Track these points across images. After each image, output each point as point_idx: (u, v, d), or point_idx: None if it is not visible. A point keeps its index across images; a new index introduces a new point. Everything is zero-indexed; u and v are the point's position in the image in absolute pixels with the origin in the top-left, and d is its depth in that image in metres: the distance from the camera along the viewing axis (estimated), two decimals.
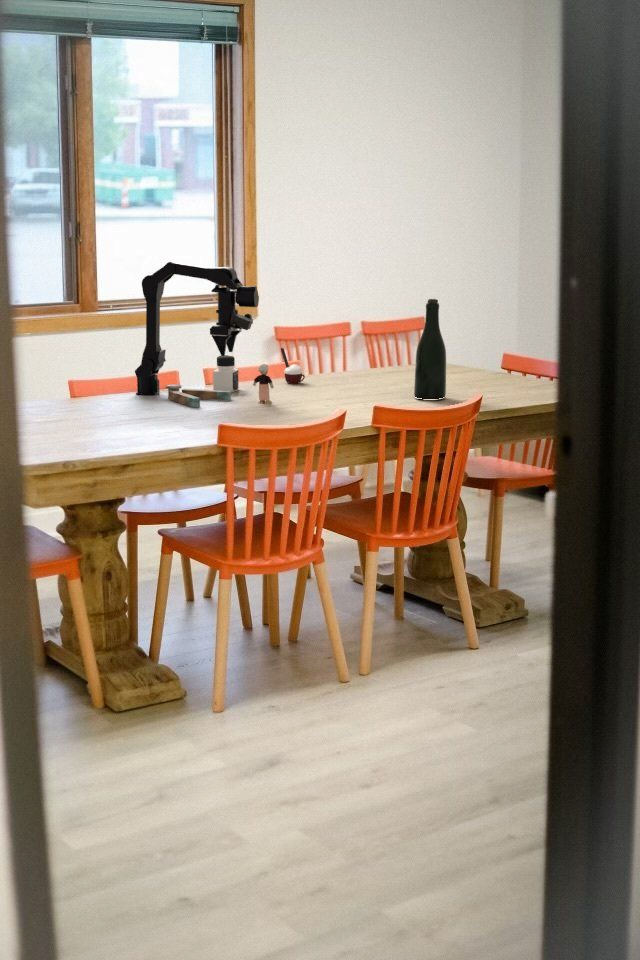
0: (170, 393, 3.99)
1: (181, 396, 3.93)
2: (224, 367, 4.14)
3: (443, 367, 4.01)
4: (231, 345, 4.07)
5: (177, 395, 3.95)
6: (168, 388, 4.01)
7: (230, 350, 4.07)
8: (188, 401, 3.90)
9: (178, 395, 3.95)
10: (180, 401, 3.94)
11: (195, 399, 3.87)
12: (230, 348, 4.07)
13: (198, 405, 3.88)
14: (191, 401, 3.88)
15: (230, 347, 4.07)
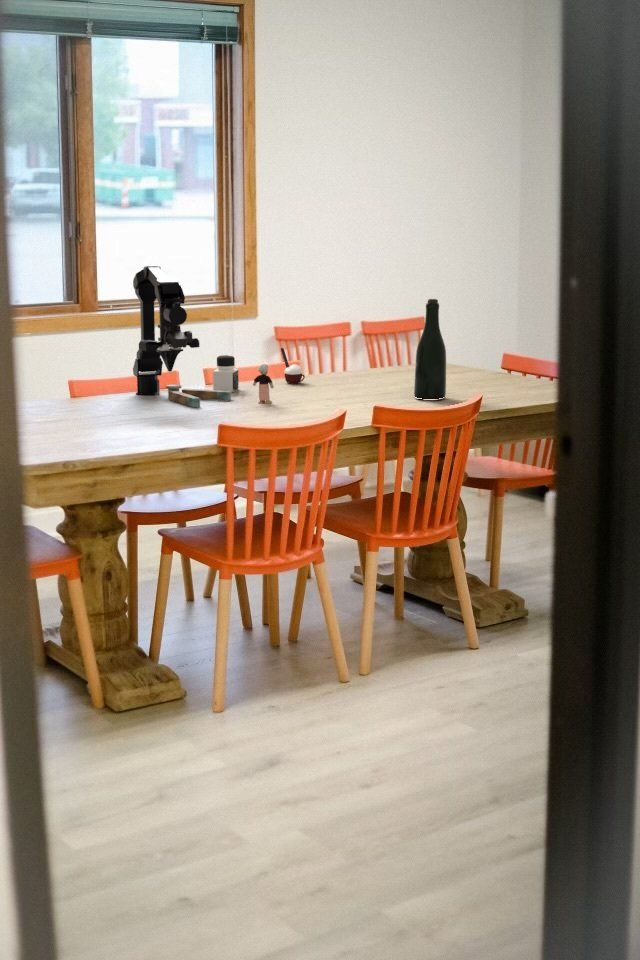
0: (170, 393, 3.99)
1: (181, 396, 3.93)
2: (224, 367, 4.14)
3: (443, 367, 4.01)
4: None
5: (177, 395, 3.95)
6: (168, 388, 4.01)
7: None
8: (188, 401, 3.90)
9: (178, 395, 3.95)
10: (180, 401, 3.94)
11: (195, 399, 3.87)
12: None
13: (198, 405, 3.88)
14: (191, 401, 3.88)
15: None
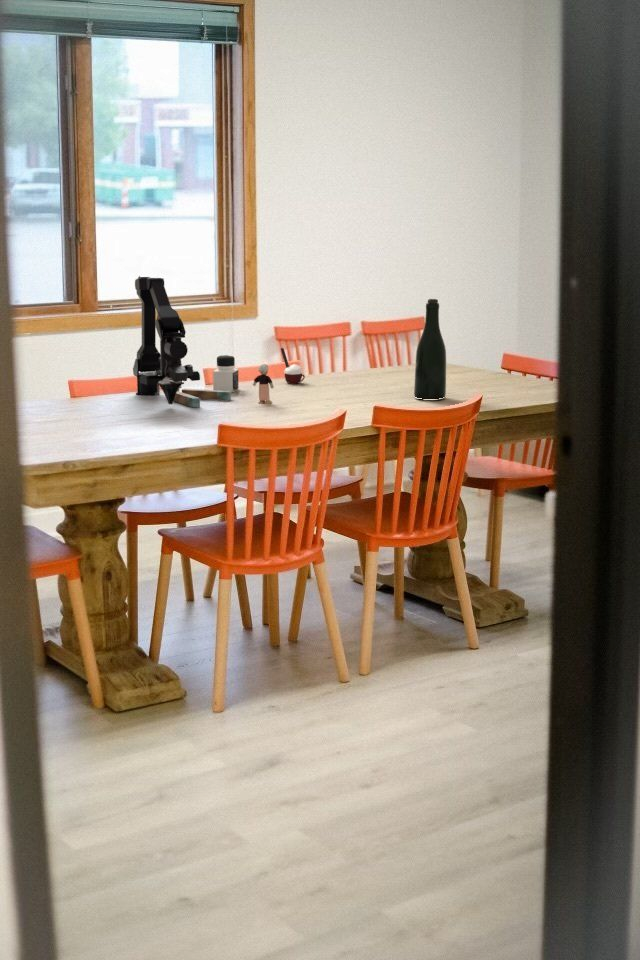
0: None
1: (181, 396, 3.93)
2: (224, 367, 4.14)
3: (443, 367, 4.01)
4: None
5: (177, 395, 3.95)
6: None
7: None
8: (188, 401, 3.90)
9: (178, 395, 3.95)
10: (180, 401, 3.94)
11: (195, 399, 3.87)
12: None
13: (198, 405, 3.88)
14: (191, 401, 3.88)
15: None
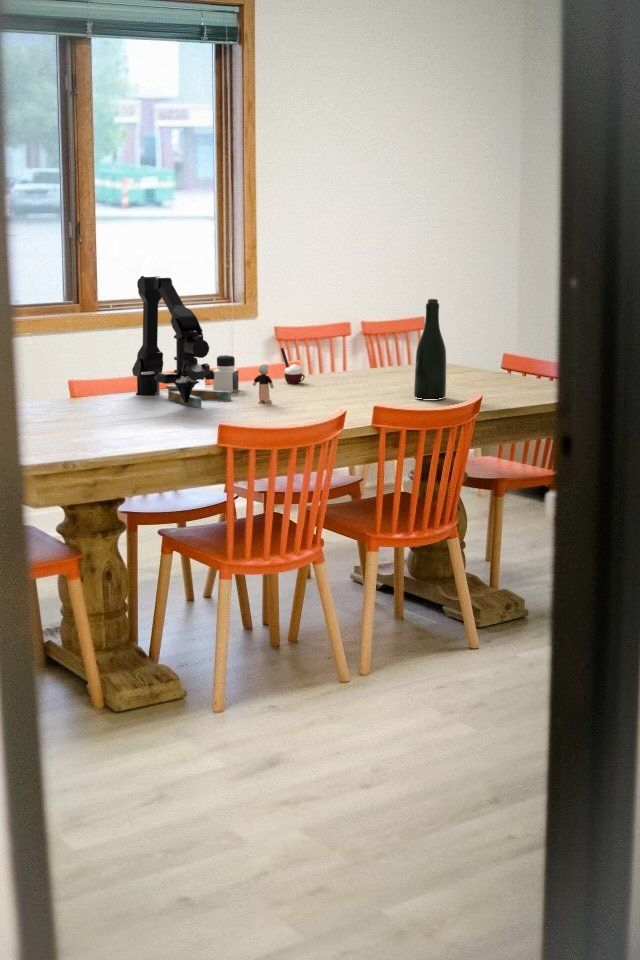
0: (170, 393, 3.99)
1: None
2: (224, 367, 4.14)
3: (443, 367, 4.01)
4: None
5: (178, 395, 3.95)
6: (168, 388, 4.01)
7: None
8: (189, 401, 3.90)
9: (179, 395, 3.95)
10: (181, 401, 3.94)
11: (197, 399, 3.88)
12: None
13: (199, 405, 3.89)
14: (193, 401, 3.88)
15: None
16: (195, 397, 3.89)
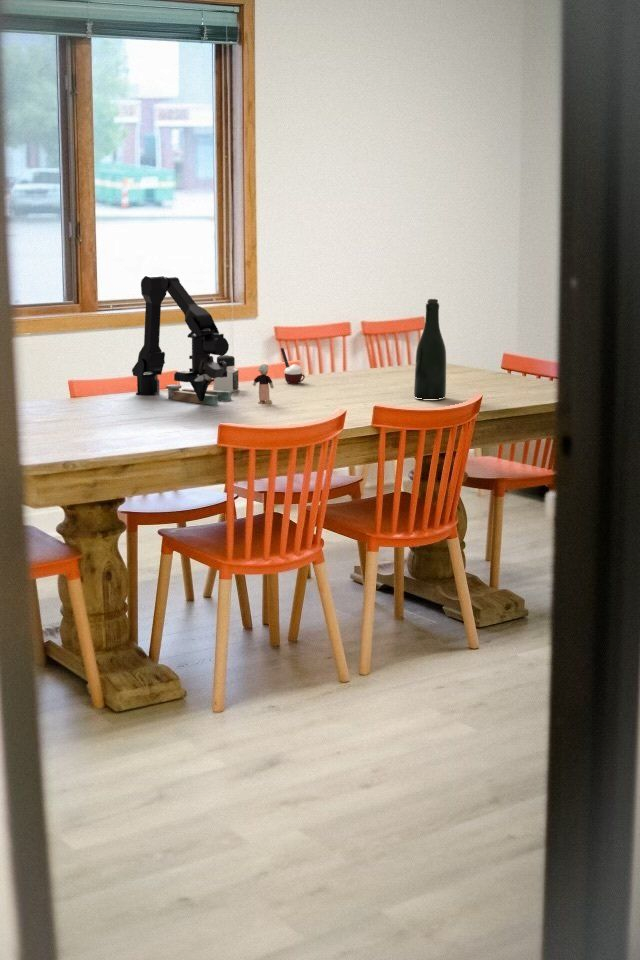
0: (175, 393, 3.99)
1: (193, 395, 3.95)
2: None
3: (443, 367, 4.01)
4: None
5: (187, 394, 3.97)
6: (168, 388, 4.01)
7: None
8: (204, 399, 3.93)
9: (188, 394, 3.96)
10: (192, 400, 3.96)
11: (214, 397, 3.92)
12: None
13: (216, 402, 3.93)
14: (210, 399, 3.92)
15: None
16: (211, 395, 3.93)
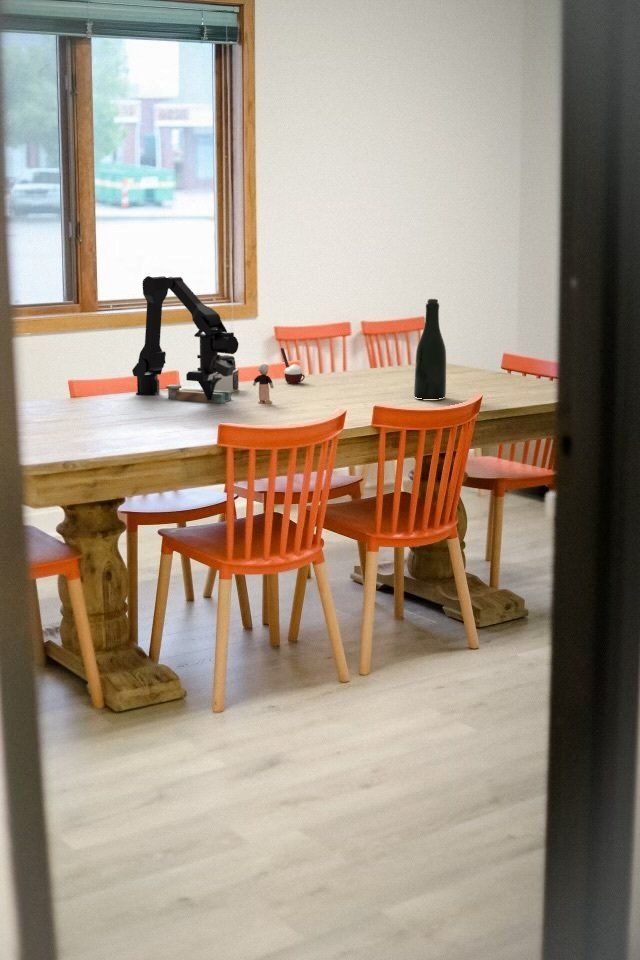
0: (178, 393, 4.00)
1: (199, 394, 3.97)
2: None
3: (443, 367, 4.01)
4: None
5: (192, 394, 3.98)
6: (168, 388, 4.01)
7: (209, 398, 3.95)
8: (212, 398, 3.96)
9: (194, 393, 3.98)
10: (197, 399, 3.98)
11: (222, 395, 3.95)
12: None
13: (224, 401, 3.97)
14: (218, 398, 3.95)
15: None
16: (218, 393, 3.96)
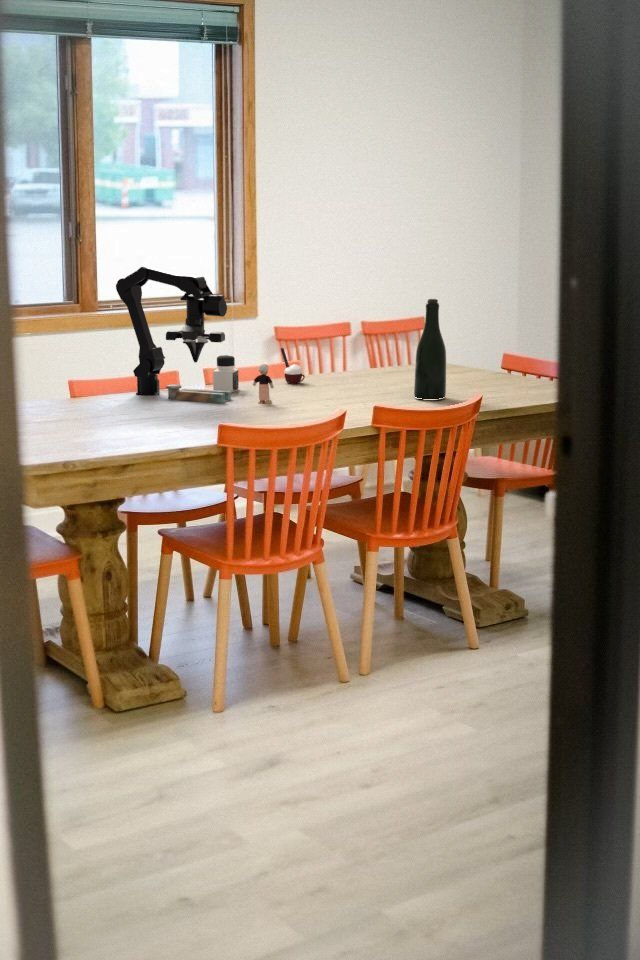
0: (178, 393, 4.00)
1: (199, 394, 3.97)
2: (224, 367, 4.14)
3: (443, 367, 4.01)
4: None
5: (192, 394, 3.98)
6: (168, 388, 4.01)
7: None
8: (212, 398, 3.96)
9: (194, 393, 3.98)
10: (197, 399, 3.98)
11: (222, 395, 3.95)
12: None
13: (224, 400, 3.97)
14: (218, 398, 3.95)
15: None
16: (218, 393, 3.96)
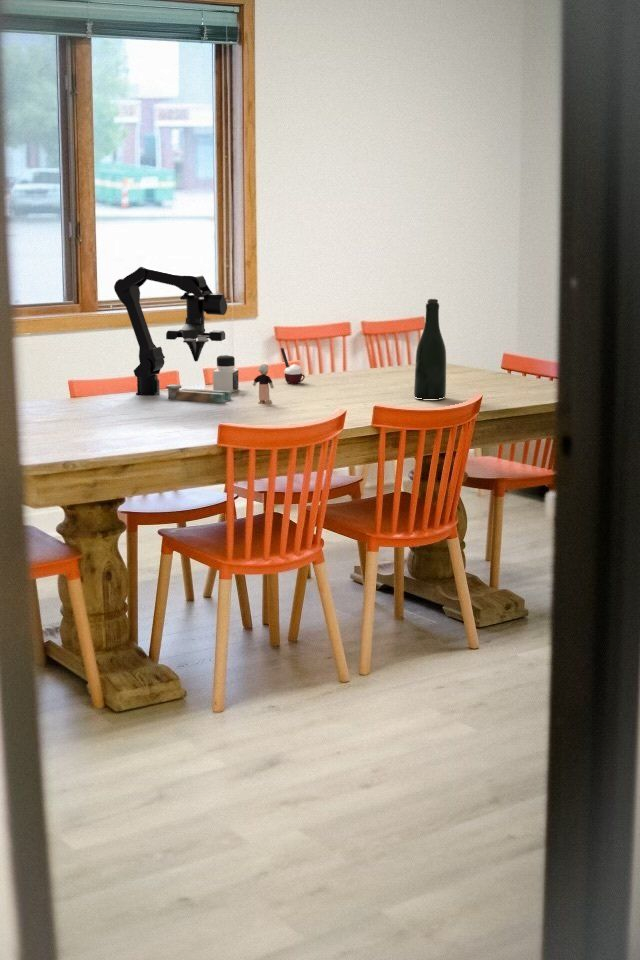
0: (178, 393, 4.00)
1: (199, 394, 3.97)
2: (224, 367, 4.14)
3: (443, 367, 4.01)
4: None
5: (192, 394, 3.98)
6: (168, 388, 4.01)
7: None
8: (212, 398, 3.96)
9: (194, 393, 3.98)
10: (197, 399, 3.98)
11: (222, 395, 3.95)
12: None
13: (224, 400, 3.97)
14: (218, 398, 3.95)
15: None
16: (218, 393, 3.96)
